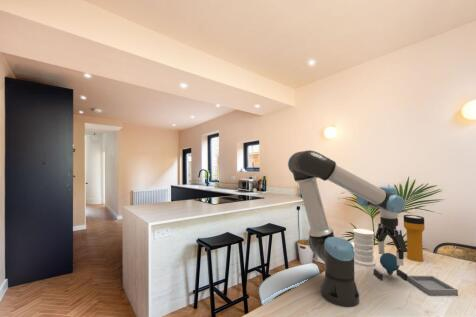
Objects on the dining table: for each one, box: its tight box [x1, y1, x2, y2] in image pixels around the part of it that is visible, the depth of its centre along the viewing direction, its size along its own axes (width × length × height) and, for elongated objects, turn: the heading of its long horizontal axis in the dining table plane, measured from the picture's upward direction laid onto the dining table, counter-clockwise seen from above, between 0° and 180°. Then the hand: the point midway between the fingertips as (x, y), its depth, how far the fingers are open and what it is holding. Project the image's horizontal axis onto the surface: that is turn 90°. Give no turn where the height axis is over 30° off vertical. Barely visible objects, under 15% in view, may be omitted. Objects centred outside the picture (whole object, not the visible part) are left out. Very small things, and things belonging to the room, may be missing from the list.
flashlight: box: [403, 214, 425, 262], centre depth 136 cm, size 10×26×10 cm
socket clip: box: [373, 268, 408, 282], centre depth 113 cm, size 13×6×3 cm, turn 90°
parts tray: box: [407, 275, 459, 297], centre depth 103 cm, size 13×13×2 cm
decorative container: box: [352, 228, 376, 268], centre depth 131 cm, size 12×12×18 cm
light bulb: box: [379, 252, 400, 279], centre depth 113 cm, size 8×8×12 cm
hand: (390, 259), depth 113 cm, fingers open, 13 cm apart
